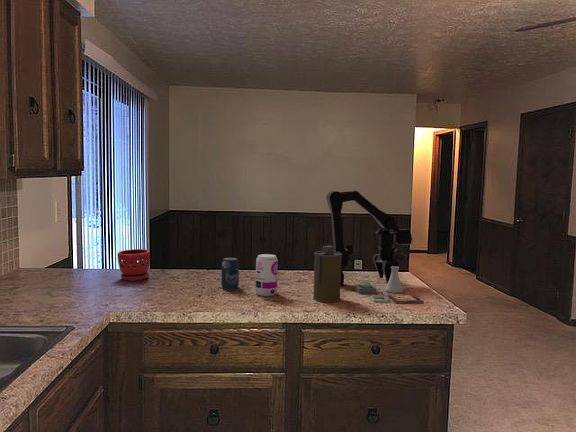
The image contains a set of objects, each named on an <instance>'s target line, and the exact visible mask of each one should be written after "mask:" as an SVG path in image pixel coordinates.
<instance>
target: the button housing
mask: <svg viewBox="0 0 576 432" xmlns="http://www.w3.org/2000/svg"><path fill="white" fill-rule="evenodd" d="M354 290H355V292H357V293H358V295H359V294H365V295H367V294H368V295H369V294H371V295H373V294H375V295H376V294H377V288H376V287H375V286H374V285H373V284H371V283H370V288H361V287H360V284H356V283H355V284H354Z"/></svg>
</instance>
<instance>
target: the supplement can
mask: <svg viewBox="0 0 576 432" xmlns="http://www.w3.org/2000/svg"><path fill="white" fill-rule="evenodd" d="M278 261H279V260H278V257H277V255H276V254H270V253H262V254H258V255H257V257H256V259H255V262H256V263H255V294H257V296H261V297H272V296H275V295H276V294H277V293H278V267H279V266H278V264H279V262H278Z"/></svg>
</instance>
